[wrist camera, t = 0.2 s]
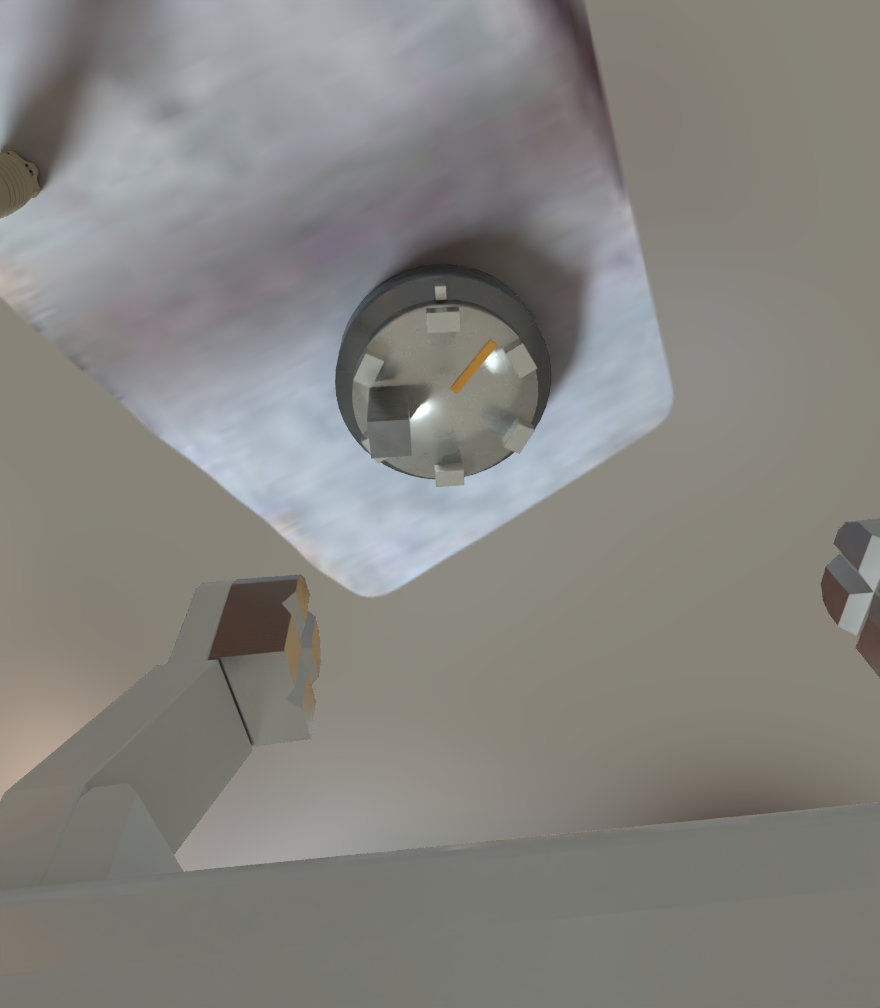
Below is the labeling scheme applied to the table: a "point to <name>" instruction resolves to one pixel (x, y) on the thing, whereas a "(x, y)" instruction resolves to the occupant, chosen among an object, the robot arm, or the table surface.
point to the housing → (426, 287)
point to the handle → (16, 182)
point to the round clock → (444, 390)
